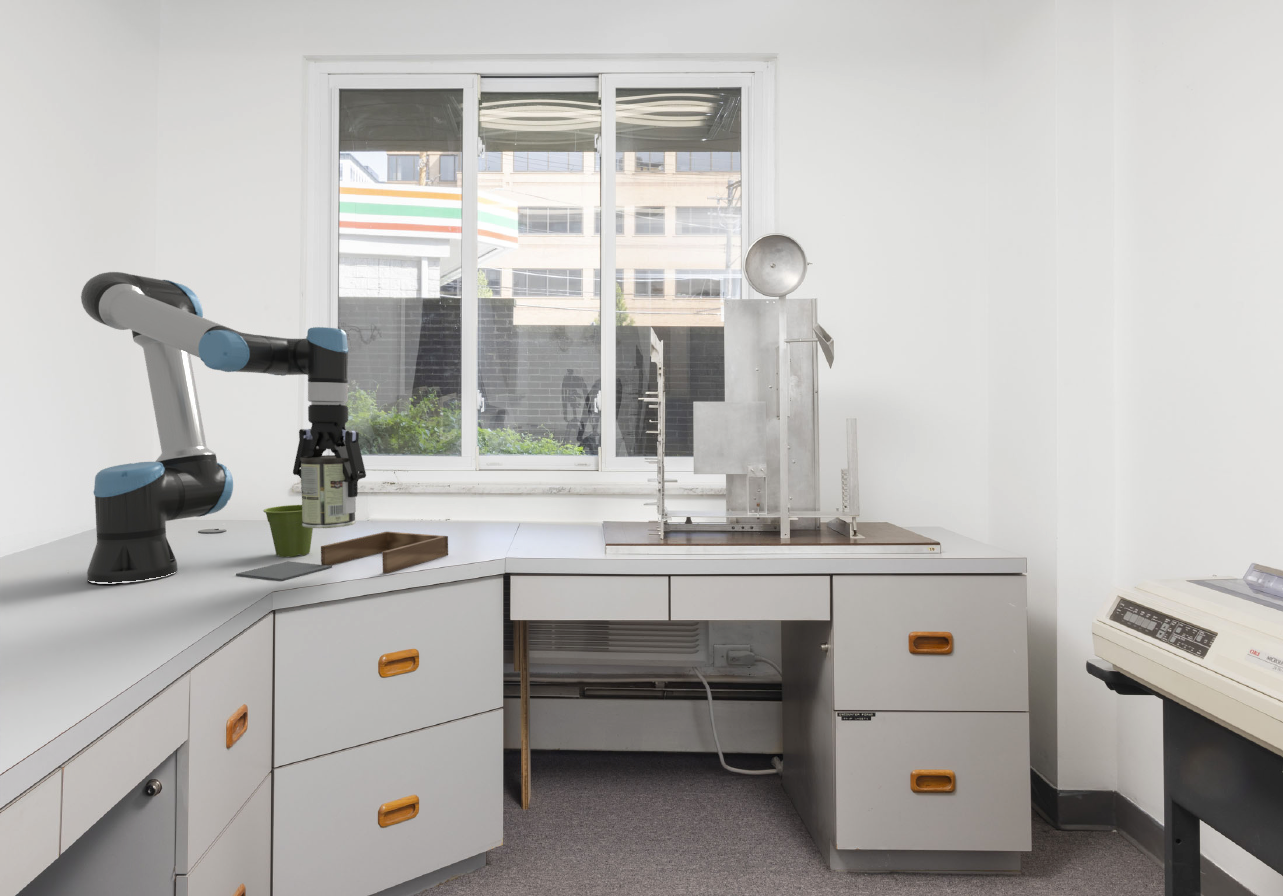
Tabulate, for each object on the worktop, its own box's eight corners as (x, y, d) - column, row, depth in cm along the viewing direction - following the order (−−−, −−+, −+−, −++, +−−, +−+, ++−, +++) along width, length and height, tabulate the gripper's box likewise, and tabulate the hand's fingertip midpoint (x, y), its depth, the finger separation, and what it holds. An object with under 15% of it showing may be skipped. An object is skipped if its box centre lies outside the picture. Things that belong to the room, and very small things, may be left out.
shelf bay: (321, 566, 156) (320, 546, 155) (387, 549, 175) (386, 531, 174) (387, 573, 149) (386, 552, 149) (448, 554, 168) (447, 536, 168)
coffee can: (328, 519, 153) (327, 454, 152) (366, 522, 149) (365, 456, 148) (289, 526, 143) (288, 457, 142) (328, 530, 140) (328, 459, 139)
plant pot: (265, 552, 171) (263, 506, 171) (318, 548, 177) (317, 503, 176) (264, 561, 161) (262, 512, 160) (321, 556, 166) (319, 509, 166)
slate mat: (236, 575, 147) (235, 573, 147) (288, 563, 159) (288, 561, 159) (281, 580, 142) (281, 578, 142) (332, 567, 154) (331, 565, 154)
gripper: (384, 404, 144) (385, 512, 146) (302, 403, 153) (303, 505, 154) (357, 404, 137) (358, 517, 139) (272, 402, 146) (273, 509, 147)
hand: (329, 511), depth 146 cm, fingers closed on coffee can, 10 cm apart
